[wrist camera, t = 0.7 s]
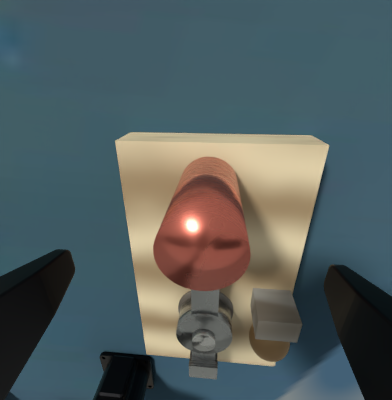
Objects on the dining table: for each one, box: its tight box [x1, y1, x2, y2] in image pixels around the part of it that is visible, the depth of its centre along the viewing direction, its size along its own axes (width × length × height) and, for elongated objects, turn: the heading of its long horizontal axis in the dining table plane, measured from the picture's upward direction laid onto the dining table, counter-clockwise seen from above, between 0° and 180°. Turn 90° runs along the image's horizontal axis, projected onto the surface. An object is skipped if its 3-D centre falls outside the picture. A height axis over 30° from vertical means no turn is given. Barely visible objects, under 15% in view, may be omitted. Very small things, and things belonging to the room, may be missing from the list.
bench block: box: [115, 132, 329, 366], centre depth 19 cm, size 22×13×6 cm, turn 0°
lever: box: [153, 157, 251, 379], centre depth 15 cm, size 19×4×7 cm, turn 0°
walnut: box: [249, 324, 290, 362], centre depth 19 cm, size 3×3×3 cm
